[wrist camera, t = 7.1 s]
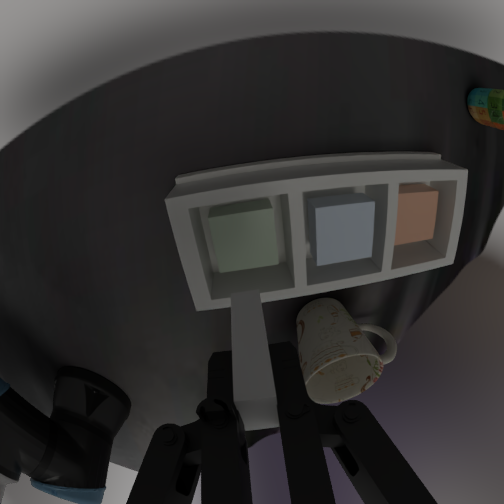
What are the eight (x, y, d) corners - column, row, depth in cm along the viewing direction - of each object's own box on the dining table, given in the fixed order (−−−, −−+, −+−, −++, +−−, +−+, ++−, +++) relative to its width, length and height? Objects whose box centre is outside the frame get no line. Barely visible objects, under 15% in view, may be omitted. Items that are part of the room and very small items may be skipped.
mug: (290, 290, 30) (311, 360, 21) (388, 284, 31) (428, 340, 22) (283, 342, 34) (296, 408, 25) (370, 333, 34) (398, 389, 26)
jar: (486, 123, 21) (533, 136, 14) (466, 123, 21) (516, 136, 14) (482, 88, 19) (529, 94, 12) (460, 85, 19) (511, 90, 12)
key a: (220, 258, 25) (220, 273, 23) (210, 207, 23) (207, 218, 21) (274, 251, 25) (278, 264, 23) (269, 199, 23) (272, 208, 21)
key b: (309, 252, 24) (317, 266, 22) (307, 198, 22) (315, 208, 20) (360, 244, 24) (371, 256, 22) (362, 192, 22) (375, 201, 20)
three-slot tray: (203, 278, 28) (198, 315, 23) (178, 174, 23) (162, 192, 18) (424, 243, 28) (451, 267, 23) (432, 152, 23) (468, 164, 18)
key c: (382, 234, 25) (393, 245, 23) (384, 186, 23) (397, 194, 21) (420, 228, 25) (432, 238, 23) (424, 183, 23) (438, 191, 21)
